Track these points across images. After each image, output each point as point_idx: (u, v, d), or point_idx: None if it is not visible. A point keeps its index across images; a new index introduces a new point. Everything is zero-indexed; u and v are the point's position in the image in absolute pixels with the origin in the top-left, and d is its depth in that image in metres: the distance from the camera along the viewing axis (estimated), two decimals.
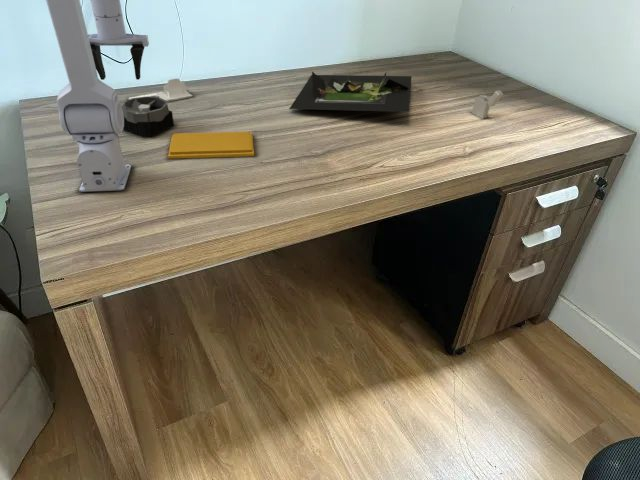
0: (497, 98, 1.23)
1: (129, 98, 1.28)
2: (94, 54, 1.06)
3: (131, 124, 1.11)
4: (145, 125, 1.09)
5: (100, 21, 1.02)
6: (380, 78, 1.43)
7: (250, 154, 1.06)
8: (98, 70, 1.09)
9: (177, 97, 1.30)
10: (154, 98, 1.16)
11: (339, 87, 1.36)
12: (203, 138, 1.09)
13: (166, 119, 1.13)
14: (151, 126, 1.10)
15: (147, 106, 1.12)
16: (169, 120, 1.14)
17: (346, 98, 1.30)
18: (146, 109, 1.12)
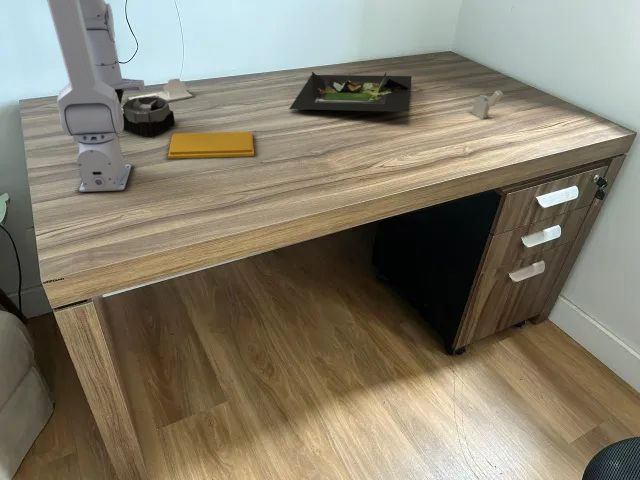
0: (497, 98, 1.23)
1: (129, 98, 1.28)
2: None
3: (132, 124, 1.11)
4: (146, 125, 1.09)
5: (96, 69, 1.04)
6: (380, 78, 1.43)
7: (250, 154, 1.06)
8: None
9: (177, 97, 1.30)
10: (155, 98, 1.16)
11: (339, 87, 1.36)
12: (203, 138, 1.09)
13: (167, 119, 1.13)
14: (152, 126, 1.10)
15: (148, 106, 1.12)
16: (170, 120, 1.14)
17: (346, 98, 1.30)
18: (147, 109, 1.12)
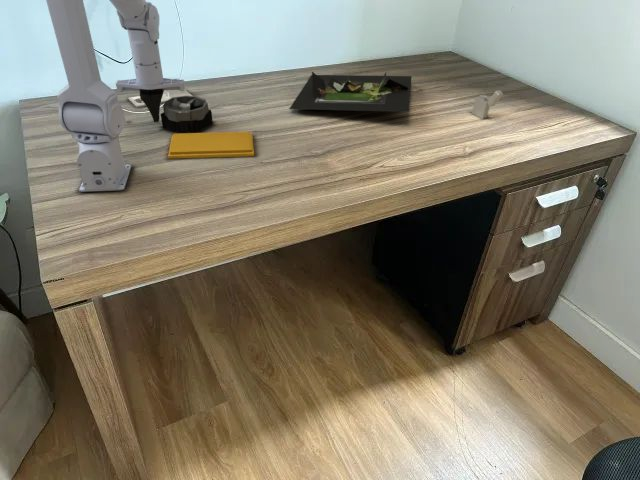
0: (497, 98, 1.23)
1: (129, 98, 1.28)
2: (149, 99, 1.09)
3: (173, 123, 1.12)
4: (187, 124, 1.11)
5: (140, 69, 1.05)
6: (380, 78, 1.43)
7: (250, 154, 1.06)
8: (152, 113, 1.12)
9: None
10: (193, 97, 1.17)
11: (339, 87, 1.36)
12: (203, 138, 1.09)
13: (206, 118, 1.15)
14: (193, 125, 1.12)
15: (188, 105, 1.14)
16: (209, 119, 1.16)
17: (346, 98, 1.30)
18: (187, 108, 1.13)
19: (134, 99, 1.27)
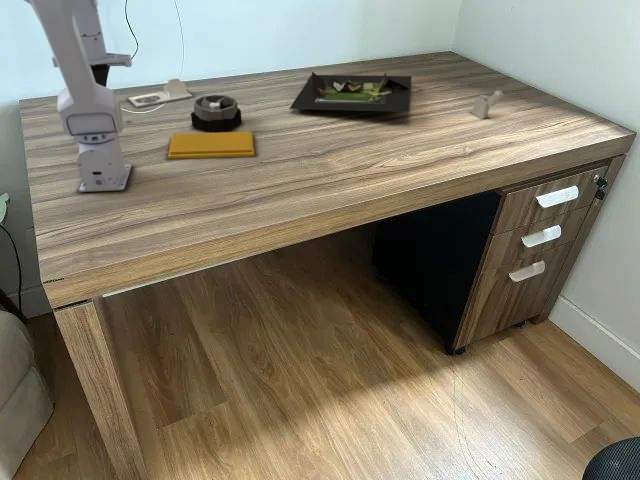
0: (497, 98, 1.23)
1: (129, 98, 1.28)
2: None
3: (204, 122, 1.13)
4: (219, 122, 1.12)
5: None
6: (380, 78, 1.43)
7: (250, 154, 1.06)
8: None
9: (177, 97, 1.30)
10: (221, 96, 1.19)
11: (339, 87, 1.36)
12: (203, 138, 1.09)
13: (236, 116, 1.16)
14: (225, 123, 1.13)
15: (218, 104, 1.15)
16: (238, 117, 1.17)
17: (346, 98, 1.30)
18: (217, 107, 1.15)
19: (134, 99, 1.27)
